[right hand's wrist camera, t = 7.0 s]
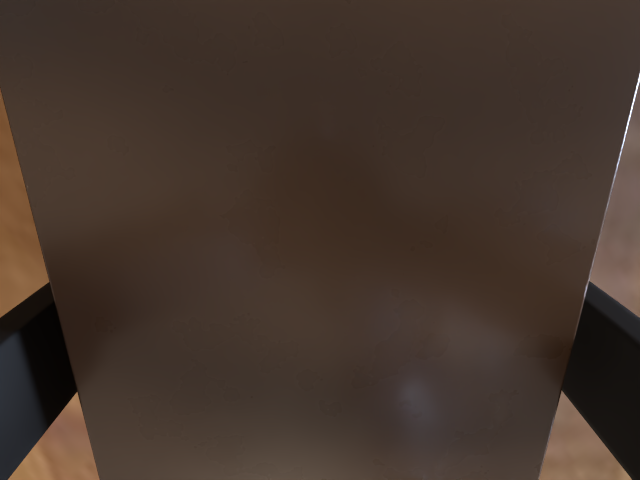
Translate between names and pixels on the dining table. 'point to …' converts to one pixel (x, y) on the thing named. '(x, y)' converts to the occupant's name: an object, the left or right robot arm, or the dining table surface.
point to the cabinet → (319, 223)
